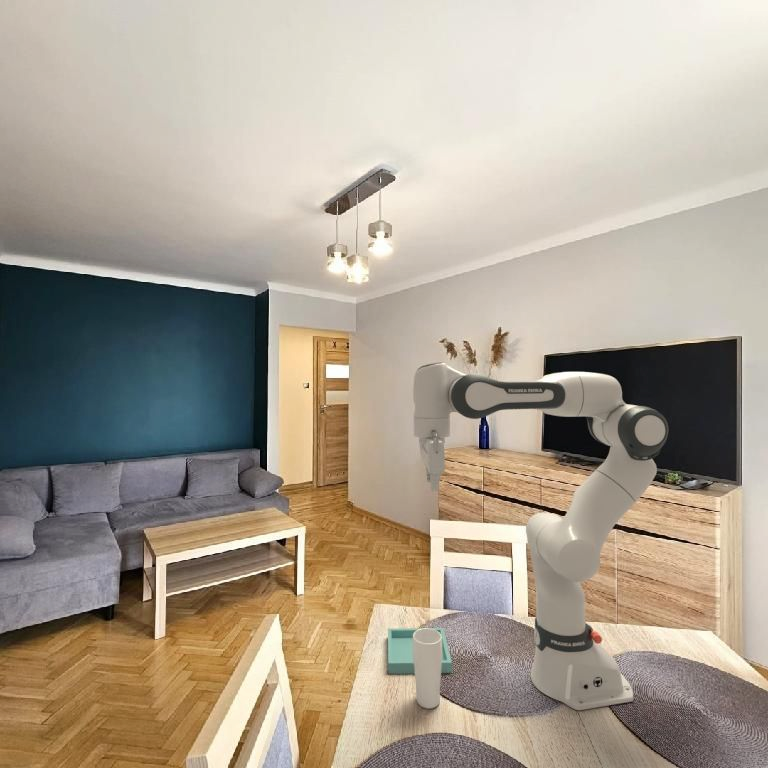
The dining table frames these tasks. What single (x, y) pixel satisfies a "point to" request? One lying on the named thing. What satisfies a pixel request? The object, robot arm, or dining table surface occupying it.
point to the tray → (410, 651)
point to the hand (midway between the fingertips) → (432, 485)
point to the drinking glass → (427, 666)
